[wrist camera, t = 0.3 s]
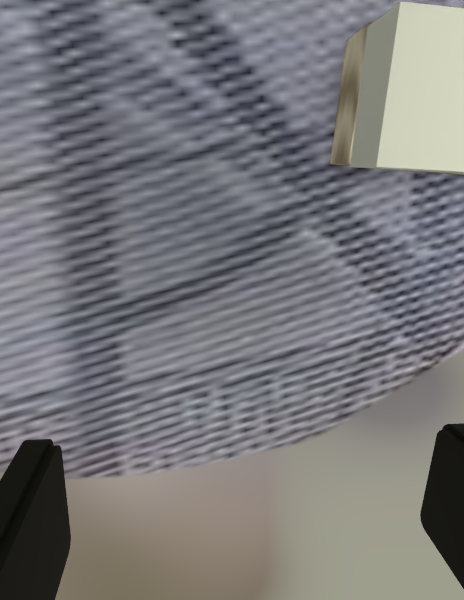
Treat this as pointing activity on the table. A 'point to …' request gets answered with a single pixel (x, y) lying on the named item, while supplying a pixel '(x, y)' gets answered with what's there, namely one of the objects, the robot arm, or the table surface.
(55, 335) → the table surface
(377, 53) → the upper slab
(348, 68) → the lower slab
